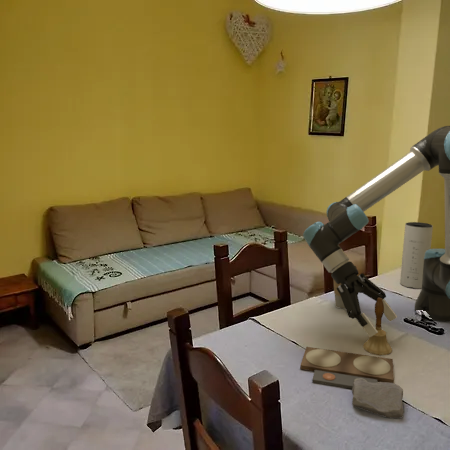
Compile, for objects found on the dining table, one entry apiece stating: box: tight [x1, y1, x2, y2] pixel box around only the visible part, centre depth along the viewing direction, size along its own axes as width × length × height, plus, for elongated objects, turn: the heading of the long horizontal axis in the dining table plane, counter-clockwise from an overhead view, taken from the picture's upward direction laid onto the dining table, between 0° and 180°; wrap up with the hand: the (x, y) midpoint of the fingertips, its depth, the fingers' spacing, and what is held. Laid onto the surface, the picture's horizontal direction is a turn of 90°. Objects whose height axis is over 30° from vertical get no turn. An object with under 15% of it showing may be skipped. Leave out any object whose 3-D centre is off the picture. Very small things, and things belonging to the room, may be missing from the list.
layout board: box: [299, 346, 395, 384], centre depth 124 cm, size 24×11×2 cm, turn 71°
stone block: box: [351, 379, 405, 419], centre depth 107 cm, size 12×5×10 cm
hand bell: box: [362, 298, 393, 356], centre depth 132 cm, size 8×8×16 cm
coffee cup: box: [332, 265, 360, 310], centre depth 164 cm, size 9×9×15 cm
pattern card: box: [311, 370, 378, 390], centre depth 116 cm, size 16×5×1 cm, turn 71°
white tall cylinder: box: [399, 221, 434, 290], centre depth 183 cm, size 11×10×26 cm
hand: (384, 326), depth 131 cm, fingers open, 13 cm apart
